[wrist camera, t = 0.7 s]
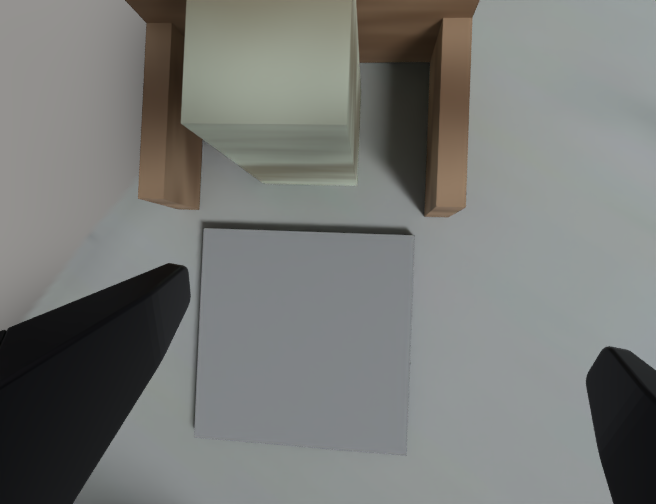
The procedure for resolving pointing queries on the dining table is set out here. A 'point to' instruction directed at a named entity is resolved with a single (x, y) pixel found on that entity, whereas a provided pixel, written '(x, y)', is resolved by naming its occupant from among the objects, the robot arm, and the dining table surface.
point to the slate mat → (305, 339)
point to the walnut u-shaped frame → (374, 47)
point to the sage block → (276, 86)
